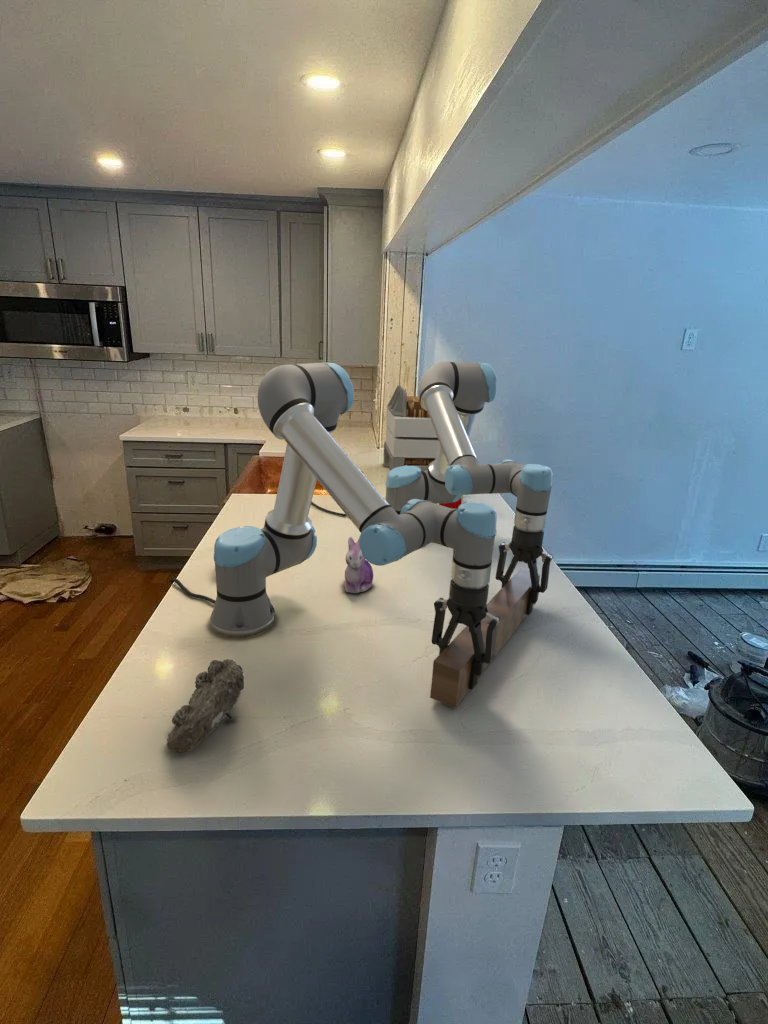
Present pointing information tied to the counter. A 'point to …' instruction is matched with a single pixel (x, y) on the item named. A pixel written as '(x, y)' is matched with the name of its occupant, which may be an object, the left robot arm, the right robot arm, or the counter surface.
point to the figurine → (357, 569)
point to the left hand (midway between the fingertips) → (458, 680)
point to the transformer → (408, 432)
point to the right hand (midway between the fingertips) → (517, 608)
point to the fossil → (206, 705)
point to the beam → (459, 654)
